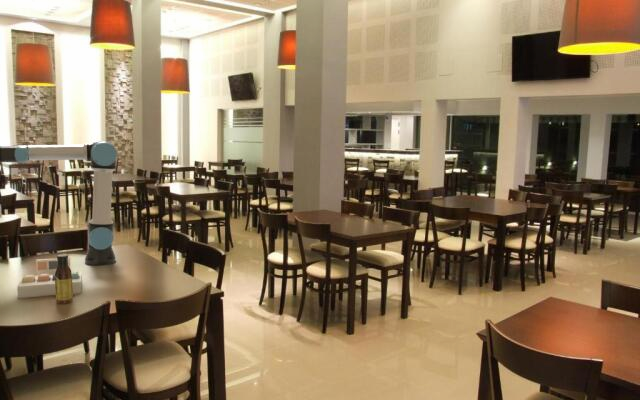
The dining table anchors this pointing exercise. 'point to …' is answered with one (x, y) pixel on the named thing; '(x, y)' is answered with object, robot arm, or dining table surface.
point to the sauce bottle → (63, 280)
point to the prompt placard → (47, 266)
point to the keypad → (45, 287)
